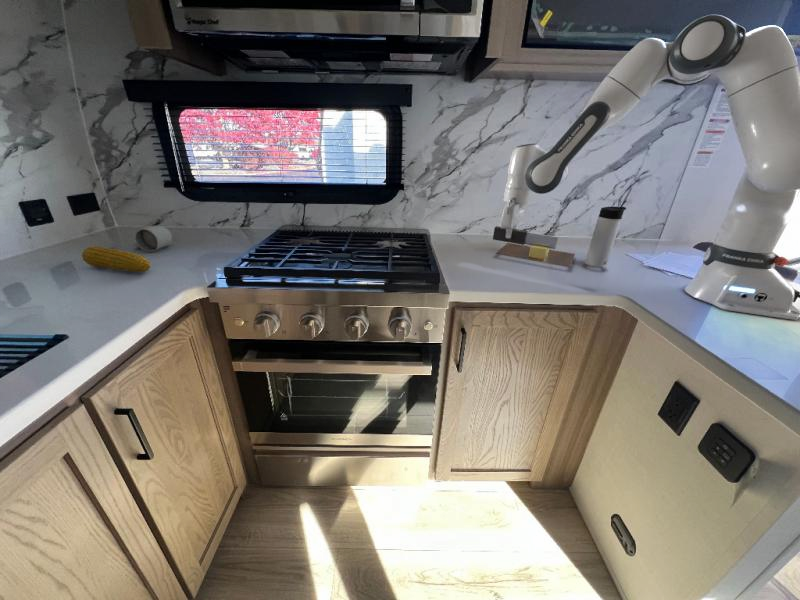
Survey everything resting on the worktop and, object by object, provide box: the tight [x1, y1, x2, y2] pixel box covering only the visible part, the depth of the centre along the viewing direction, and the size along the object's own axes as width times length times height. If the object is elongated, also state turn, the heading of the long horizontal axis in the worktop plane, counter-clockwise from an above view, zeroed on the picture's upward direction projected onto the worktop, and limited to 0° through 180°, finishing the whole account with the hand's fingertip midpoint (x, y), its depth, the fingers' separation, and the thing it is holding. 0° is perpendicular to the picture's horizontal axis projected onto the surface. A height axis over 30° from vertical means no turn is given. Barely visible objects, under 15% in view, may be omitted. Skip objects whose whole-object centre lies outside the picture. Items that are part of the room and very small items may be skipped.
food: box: [81, 246, 151, 273], centre depth 93 cm, size 21×6×6 cm, turn 77°
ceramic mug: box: [134, 225, 173, 253], centre depth 111 cm, size 11×8×8 cm
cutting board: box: [495, 242, 576, 268], centre depth 117 cm, size 24×17×2 cm
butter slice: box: [529, 245, 547, 259], centre depth 113 cm, size 5×3×4 cm, turn 60°
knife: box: [492, 225, 559, 250], centre depth 115 cm, size 21×3×4 cm, turn 60°
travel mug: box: [584, 206, 627, 272], centre depth 105 cm, size 6×7×20 cm
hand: (509, 236), depth 118 cm, fingers closed on knife, 2 cm apart
